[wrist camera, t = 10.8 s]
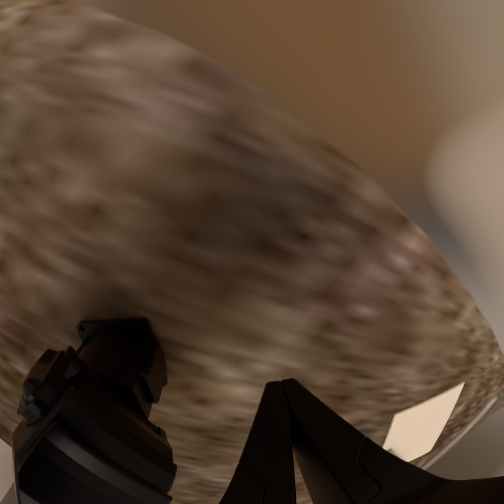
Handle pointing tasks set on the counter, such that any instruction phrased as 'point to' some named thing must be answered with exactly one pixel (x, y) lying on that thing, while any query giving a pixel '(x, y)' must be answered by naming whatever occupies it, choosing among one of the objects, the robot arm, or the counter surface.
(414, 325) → the counter surface
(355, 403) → the counter surface
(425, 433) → the pale rubber mat
